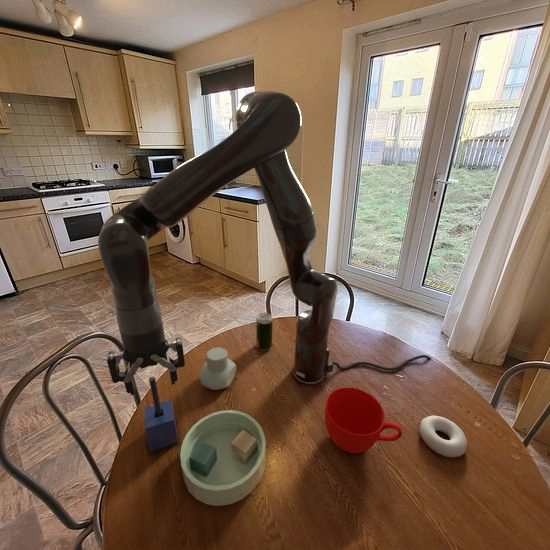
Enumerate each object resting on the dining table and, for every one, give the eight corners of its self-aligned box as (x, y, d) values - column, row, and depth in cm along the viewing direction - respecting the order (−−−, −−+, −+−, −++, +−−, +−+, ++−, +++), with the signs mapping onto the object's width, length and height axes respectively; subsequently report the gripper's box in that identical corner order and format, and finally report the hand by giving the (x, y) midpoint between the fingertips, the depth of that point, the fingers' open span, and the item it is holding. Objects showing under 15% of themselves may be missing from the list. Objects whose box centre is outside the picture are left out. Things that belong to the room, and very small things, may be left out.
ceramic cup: (395, 483, 61) (405, 451, 56) (316, 454, 66) (319, 423, 62) (395, 430, 72) (403, 401, 68) (327, 409, 77) (331, 381, 73)
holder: (175, 422, 72) (171, 399, 69) (178, 444, 67) (174, 419, 64) (149, 430, 70) (144, 406, 67) (150, 453, 65) (144, 428, 62)
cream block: (256, 450, 66) (256, 438, 64) (245, 465, 63) (245, 453, 61) (243, 441, 68) (242, 429, 66) (231, 455, 65) (230, 442, 63)
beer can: (261, 353, 97) (261, 323, 92) (253, 344, 101) (253, 315, 96) (275, 347, 100) (275, 318, 95) (266, 339, 104) (267, 310, 99)
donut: (469, 467, 64) (459, 428, 73) (474, 457, 63) (463, 419, 71) (420, 452, 67) (416, 416, 75) (423, 442, 65) (419, 407, 74)
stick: (166, 434, 70) (154, 375, 62) (166, 438, 68) (155, 379, 61) (160, 435, 69) (148, 377, 62) (161, 440, 68) (148, 381, 61)
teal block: (217, 459, 64) (216, 447, 62) (206, 477, 60) (205, 465, 59) (201, 452, 65) (200, 440, 63) (190, 469, 62) (188, 457, 60)
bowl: (250, 417, 74) (250, 401, 72) (277, 485, 60) (278, 468, 57) (178, 440, 68) (176, 424, 66) (189, 524, 53) (186, 506, 51)
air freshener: (214, 365, 91) (212, 339, 87) (238, 370, 89) (238, 344, 85) (196, 391, 82) (193, 363, 77) (223, 398, 80) (221, 369, 75)
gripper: (95, 341, 50) (114, 411, 56) (182, 324, 55) (190, 390, 62) (100, 319, 56) (117, 383, 63) (178, 305, 61) (186, 366, 68)
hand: (153, 386), depth 62 cm, fingers open, 7 cm apart
